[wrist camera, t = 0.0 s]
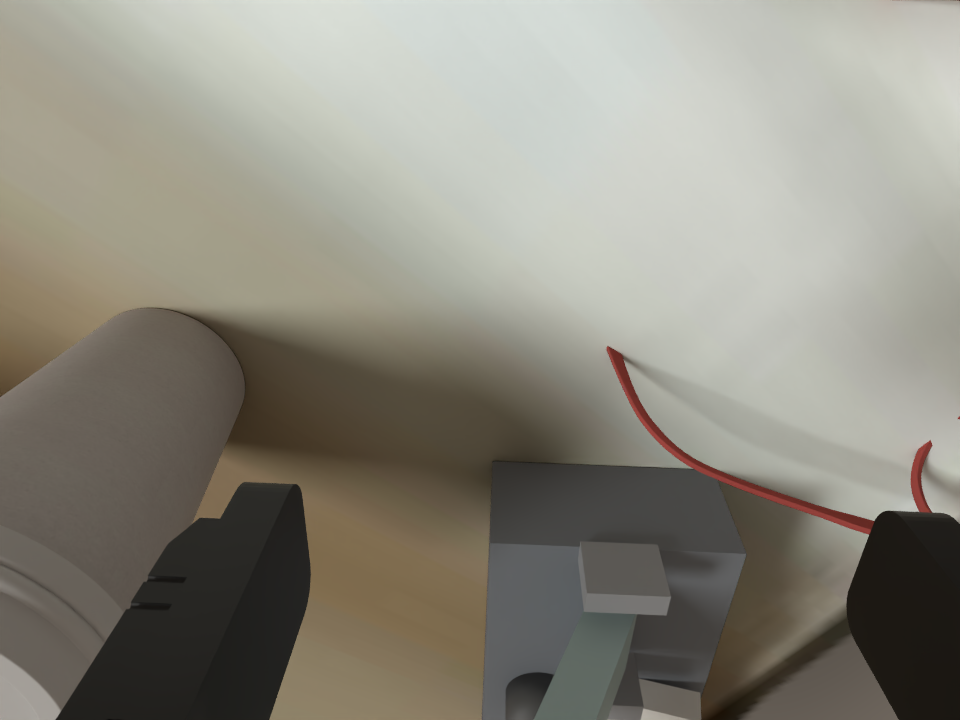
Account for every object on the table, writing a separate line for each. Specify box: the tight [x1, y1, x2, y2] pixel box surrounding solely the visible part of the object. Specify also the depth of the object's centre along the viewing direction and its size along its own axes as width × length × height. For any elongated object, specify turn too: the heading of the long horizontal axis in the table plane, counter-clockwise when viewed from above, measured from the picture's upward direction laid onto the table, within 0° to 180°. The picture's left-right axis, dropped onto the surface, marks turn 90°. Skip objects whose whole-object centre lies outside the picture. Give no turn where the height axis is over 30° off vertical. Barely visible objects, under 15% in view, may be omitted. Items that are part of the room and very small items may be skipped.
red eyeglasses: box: [607, 0, 960, 534], centre depth 24 cm, size 17×16×5 cm
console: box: [482, 461, 747, 720], centre depth 33 cm, size 21×10×8 cm, turn 179°
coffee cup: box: [0, 308, 245, 720], centre depth 23 cm, size 10×10×15 cm
